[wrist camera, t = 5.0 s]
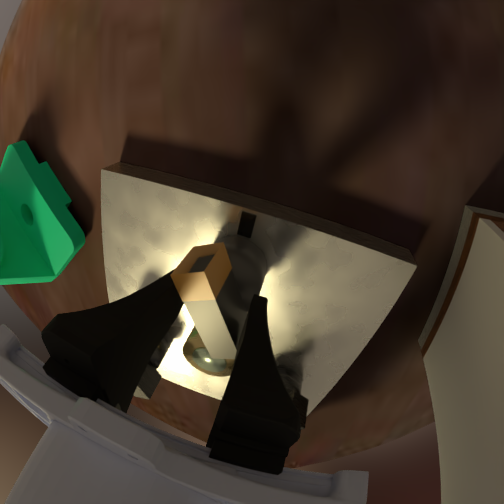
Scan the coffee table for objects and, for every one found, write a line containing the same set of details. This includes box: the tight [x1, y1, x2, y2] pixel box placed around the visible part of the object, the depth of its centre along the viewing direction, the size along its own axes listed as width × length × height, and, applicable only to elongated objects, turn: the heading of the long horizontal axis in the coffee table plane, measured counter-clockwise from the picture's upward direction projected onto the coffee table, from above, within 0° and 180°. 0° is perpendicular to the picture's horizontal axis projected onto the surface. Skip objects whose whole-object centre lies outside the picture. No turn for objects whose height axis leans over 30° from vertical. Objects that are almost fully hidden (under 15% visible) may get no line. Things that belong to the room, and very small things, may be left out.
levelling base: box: [101, 162, 417, 429], centre depth 19 cm, size 20×20×7 cm
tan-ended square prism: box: [170, 236, 267, 359], centre depth 15 cm, size 5×4×5 cm
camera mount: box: [0, 140, 85, 285], centre depth 17 cm, size 12×8×10 cm, turn 37°
